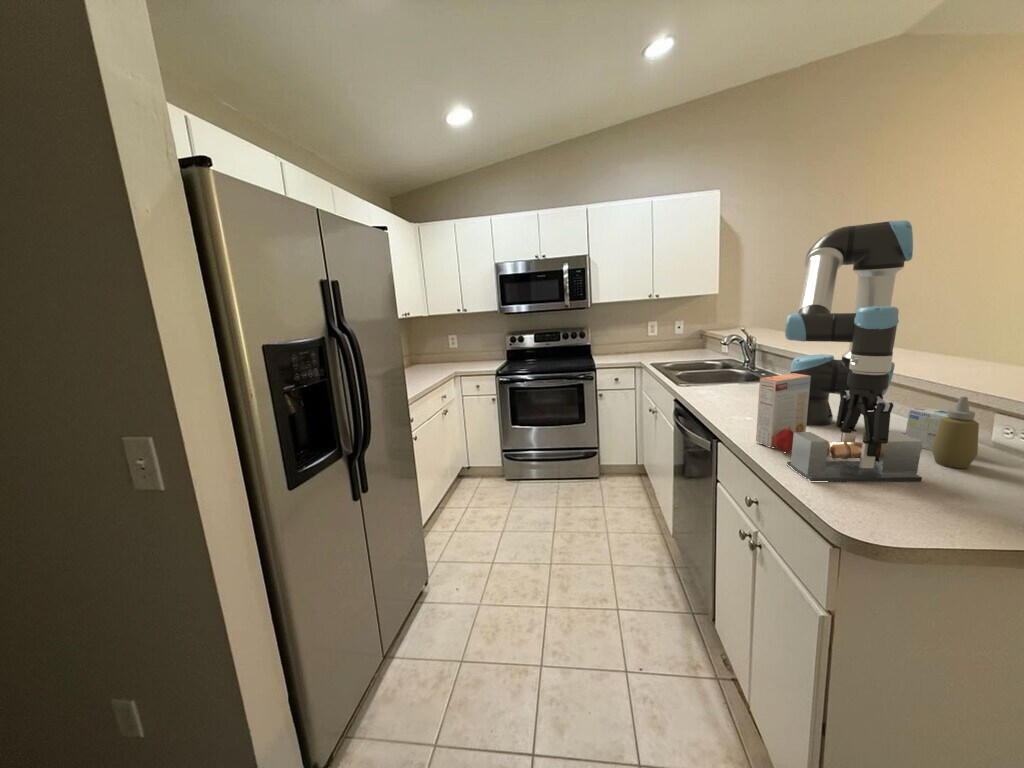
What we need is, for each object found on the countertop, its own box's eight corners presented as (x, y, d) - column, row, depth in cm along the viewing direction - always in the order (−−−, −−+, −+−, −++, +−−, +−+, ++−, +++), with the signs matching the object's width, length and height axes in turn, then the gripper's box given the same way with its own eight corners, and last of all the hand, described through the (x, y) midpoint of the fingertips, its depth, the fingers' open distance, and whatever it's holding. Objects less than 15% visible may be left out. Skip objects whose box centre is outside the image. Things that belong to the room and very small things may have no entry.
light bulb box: (965, 452, 112) (973, 414, 110) (949, 455, 110) (956, 417, 108) (918, 440, 122) (923, 405, 120) (902, 443, 120) (908, 408, 118)
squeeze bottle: (965, 473, 100) (979, 402, 96) (922, 462, 107) (934, 396, 103) (981, 466, 103) (995, 398, 99) (938, 456, 110) (949, 392, 106)
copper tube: (823, 455, 104) (825, 439, 103) (898, 454, 103) (901, 438, 102) (835, 462, 100) (837, 445, 99) (913, 461, 98) (916, 444, 97)
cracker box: (787, 436, 130) (793, 372, 126) (805, 442, 124) (812, 375, 120) (753, 442, 126) (759, 376, 121) (771, 449, 120) (777, 380, 116)
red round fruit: (775, 455, 115) (778, 429, 113) (770, 448, 120) (773, 423, 119) (800, 457, 113) (803, 430, 111) (793, 450, 118) (796, 424, 117)
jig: (786, 465, 108) (790, 430, 106) (886, 464, 106) (892, 428, 104) (810, 482, 99) (815, 443, 96) (921, 481, 96) (928, 442, 94)
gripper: (825, 365, 106) (815, 448, 111) (884, 380, 88) (869, 478, 93) (855, 364, 106) (844, 448, 111) (921, 379, 87) (905, 478, 92)
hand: (856, 461), depth 102 cm, fingers open, 6 cm apart
